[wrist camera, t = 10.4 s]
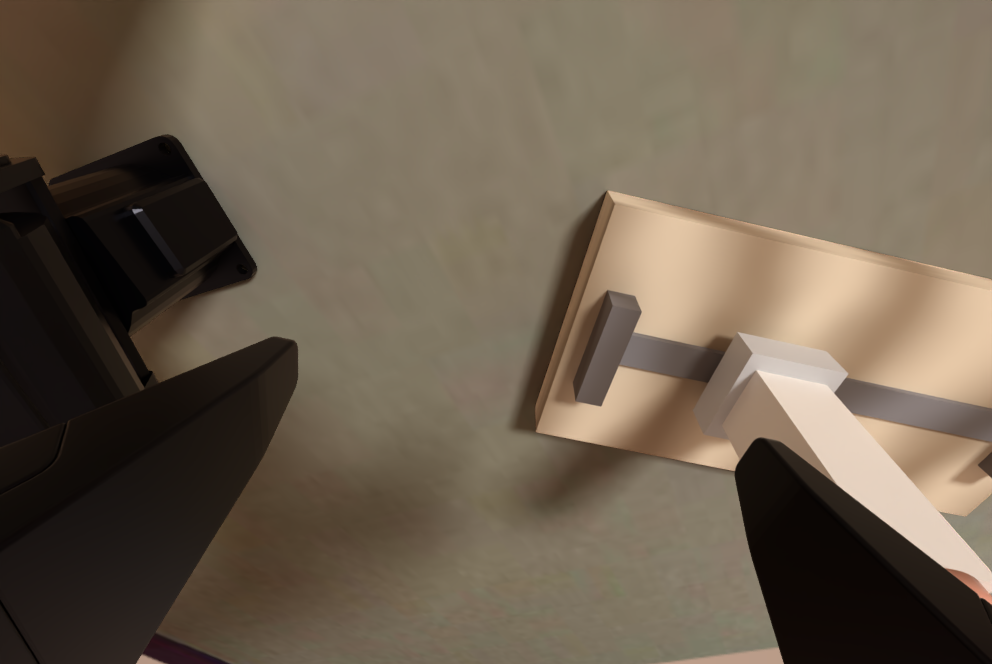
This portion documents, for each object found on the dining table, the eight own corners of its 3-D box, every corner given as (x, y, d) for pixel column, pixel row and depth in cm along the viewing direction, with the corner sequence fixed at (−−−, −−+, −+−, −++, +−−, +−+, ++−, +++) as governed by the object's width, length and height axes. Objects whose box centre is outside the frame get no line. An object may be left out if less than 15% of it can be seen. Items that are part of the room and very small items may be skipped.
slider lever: (692, 410, 22) (812, 673, 13) (737, 332, 20) (921, 583, 11) (773, 427, 22) (947, 696, 13) (826, 351, 20) (1084, 614, 11)
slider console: (535, 406, 26) (536, 452, 23) (607, 190, 20) (621, 215, 17) (938, 487, 27) (987, 539, 24) (1123, 309, 21) (1218, 352, 18)
